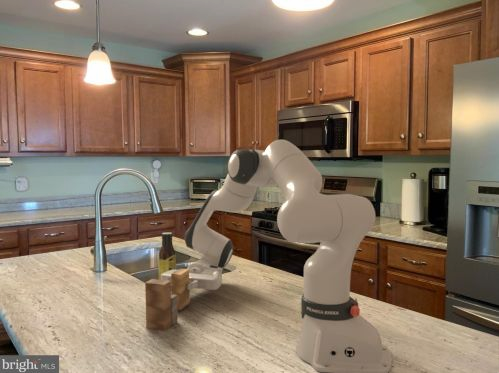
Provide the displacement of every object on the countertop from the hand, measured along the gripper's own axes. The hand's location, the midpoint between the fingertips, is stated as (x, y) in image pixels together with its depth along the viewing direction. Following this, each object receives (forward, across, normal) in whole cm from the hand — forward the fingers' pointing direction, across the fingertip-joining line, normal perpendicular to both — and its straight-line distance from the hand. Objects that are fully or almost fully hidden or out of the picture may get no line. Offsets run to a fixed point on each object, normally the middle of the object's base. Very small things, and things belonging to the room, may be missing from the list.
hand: (180, 287), depth 125 cm
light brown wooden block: (0, 0, +6) cm, 6 cm away
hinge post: (+12, 0, +7) cm, 14 cm away
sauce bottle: (-19, -15, +7) cm, 25 cm away
